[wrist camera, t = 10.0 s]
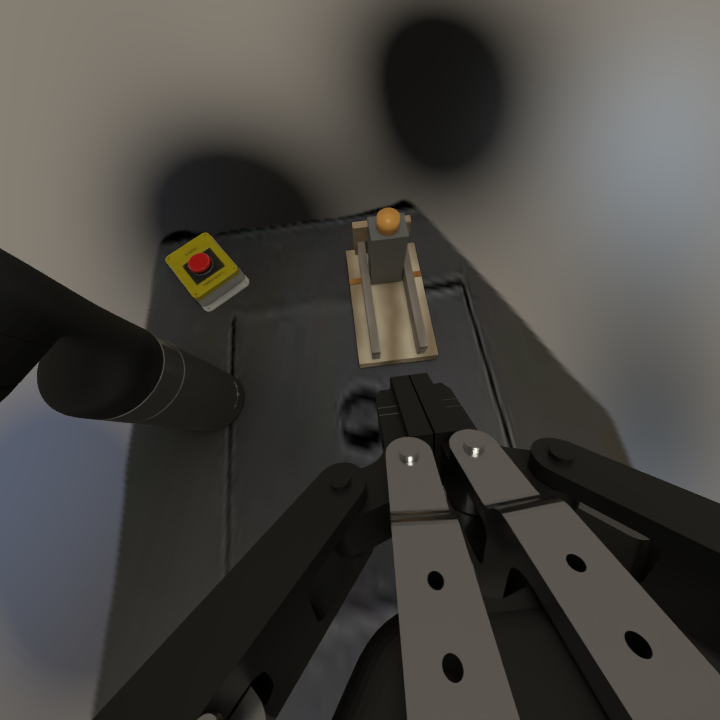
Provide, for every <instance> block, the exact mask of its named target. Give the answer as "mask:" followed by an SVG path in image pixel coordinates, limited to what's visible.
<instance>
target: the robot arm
mask: <svg viewBox="0 0 720 720" xmlns="http://www.w3.org/2000/svg"><path fill="white" fill-rule="evenodd" d="M38 362H39V365H38V370H37V383H38V388H39V391H40V394H41V396H42V397H43V399H44V401H45V402H46V403H47V404H48V405H49V406H50V407H51V408H52V409H54V410H56V411H58V412H60V413H62V414H65V415H68V416H72V417H77V418H85V419H95V420H104V421H114V422H124V423H134V424H143V425H153V426H162V427H171V428H181V429H189V430H199V431H209V432H210V431H217V430H220V429H223V428H224V427H226V426H228V425H229V424H230V423H232V422H233V421H234V420H235V418H236V417H237V416H238V414H239V413H240V411H241V409H242V406H243V401H244V392H243V388H242V386H241V384H240V382H239V381H238V380H237V379H236V378H235V377H234V376H232V375H230V374H228V373H226V372H225V371H223V370H221V369H219V368H217V367H215V366H213V365H212V364H210V363H208V362H206V361H204V360H202V359H200V358H198V357H196V356H195V355H193V354H191V353H189V352H187V351H185V350H183V349H181V348H179V347H177V346H176V345H174V344H172V343H170V342H168V341H166V340H164V339H162V338H160V337H158V336H156V335H154V334H153V333H151V332H149V331H147V330H145V329H143V328H141V327H139V326H137V325H135V324H133V323H131V322H129V321H127V320H125V319H123V318H121V317H119V316H117V315H114V314H113V313H111V312H109V311H107V310H105V309H103V308H101V307H99V306H97V305H95V304H94V303H92V302H90V301H88V300H87V299H85V298H84V297H82V296H80V295H78V294H77V293H75V292H73V291H72V290H70V289H68V288H67V287H65V286H63V285H62V284H60V283H58V282H56V281H55V280H53V279H52V278H50V277H48V276H47V275H45V274H43V273H42V272H40V271H38V270H36V269H35V268H33V267H31V266H30V265H28V264H26V263H25V262H23V261H21V260H20V259H18V258H16V257H14V256H12V255H11V254H9V253H7V252H5V251H4V250H2V249H0V402H1V401H2V400H3V399H5V397H7V396H8V395H9V394H10V393H11V392H12V391H13V389H14V388H15V387H16V386H17V385H18V383H20V382H21V381H22V380H23V378H24V377H25V376H26V375H27V374H28V373H29V372H30V371H31V370H32V368H33V367H34V366H35V365H36V364H37V363H38ZM390 388H391V389H389V390H381V391H379V393H378V395H377V398H376V404H377V413H378V423H379V431H380V436H381V442H382V448H383V454H382V456H381V457H380V458H379V459H378V460H377V461H376V462H374V463H373V464H371V465H369V466H367V467H364V468H362V469H360V468H359V467H358V466H356V465H354V464H351V463H337V464H334V465H331V466H329V467H328V468H326V469H325V470H324V471H323V472H322V473H321V474H320V475H319V476H318V477H317V478H316V479H315V480H314V481H313V482H312V483H311V485H310V486H309V487H308V488H307V489H306V490H305V491H304V492H303V493H302V494H301V495H300V496H299V497H298V499H297V500H296V501H295V502H294V503H293V504H292V505H291V506H290V507H289V508H288V509H287V510H286V511H285V513H284V514H283V515H282V516H281V517H280V518H279V519H278V520H277V521H276V522H275V523H274V524H273V526H272V527H271V528H270V529H269V530H268V531H267V532H266V533H265V534H264V535H263V536H262V537H261V538H260V540H259V541H258V542H257V543H256V544H255V545H254V546H253V547H252V548H251V549H250V550H249V551H248V552H247V554H246V555H245V556H244V557H243V558H242V559H241V560H240V561H239V562H238V563H237V564H236V565H235V566H234V568H233V569H232V570H231V571H230V572H229V573H228V574H227V575H226V576H225V577H224V578H223V579H222V580H221V582H220V583H219V584H218V585H217V586H216V587H215V588H214V589H213V590H212V591H211V592H210V593H209V594H208V596H207V597H206V598H205V599H204V600H203V601H202V602H201V603H200V604H199V605H198V606H197V607H196V608H195V610H194V611H193V612H192V613H191V614H190V615H189V616H188V617H187V618H186V619H185V620H184V621H183V622H182V624H181V625H180V626H179V627H178V628H177V629H176V630H175V631H174V632H173V633H172V634H171V635H170V636H169V638H168V639H167V640H166V641H165V642H164V643H163V644H162V645H161V646H160V647H159V648H158V649H157V650H156V652H155V653H154V654H153V655H152V656H151V657H150V658H149V659H148V660H147V661H146V662H145V663H144V665H143V666H142V667H141V668H140V669H139V670H138V671H137V672H136V673H135V674H134V675H133V676H132V677H131V679H130V680H129V681H128V682H127V683H126V684H125V685H124V686H123V687H122V688H121V689H120V690H119V691H118V693H117V694H116V695H115V696H114V697H113V698H112V699H111V700H110V701H109V702H108V703H107V704H106V705H105V707H104V708H103V709H102V710H101V711H100V712H99V713H98V714H97V715H96V716H95V717H94V718H93V719H92V720H276V718H277V716H278V714H279V712H280V711H281V709H282V707H283V705H284V704H285V702H286V700H287V699H288V697H289V695H290V693H291V692H292V690H293V688H294V686H295V685H296V683H297V681H298V680H299V678H300V676H301V674H302V673H303V671H304V669H305V668H306V666H307V664H308V662H309V661H310V659H311V657H312V655H313V654H314V652H315V650H316V649H317V647H318V645H319V643H320V642H321V640H322V638H323V636H324V635H325V633H326V631H327V630H328V628H329V626H330V624H331V623H332V621H333V619H334V617H335V616H336V614H337V612H338V611H339V609H340V607H341V605H342V604H343V602H344V600H345V599H346V597H347V595H348V593H349V592H350V590H351V588H352V586H353V585H354V583H355V581H356V580H357V578H358V576H359V574H360V573H361V571H362V569H363V567H364V566H365V564H366V562H367V561H368V559H369V557H370V555H371V554H372V551H373V549H374V547H375V546H377V545H379V544H380V543H382V542H384V541H386V540H388V539H390V538H392V541H393V553H394V565H395V577H396V589H397V601H398V614H396V615H395V616H393V617H392V618H391V619H389V620H388V621H387V622H385V623H384V624H383V625H382V626H381V627H380V628H379V629H378V630H377V631H376V633H375V634H374V635H373V637H372V638H371V639H370V640H369V642H368V643H367V645H366V647H365V648H364V650H363V652H362V653H361V655H360V657H359V659H358V661H357V663H356V665H355V668H354V670H353V672H352V675H351V677H350V679H349V681H348V684H347V686H346V688H345V690H344V693H343V695H342V697H341V700H340V702H339V704H338V706H337V709H336V711H335V713H334V715H333V718H332V720H720V504H719V503H717V502H714V501H712V500H709V499H707V498H705V497H702V496H700V495H697V494H695V493H693V492H690V491H688V490H685V489H683V488H680V487H678V486H675V485H673V484H670V483H668V482H666V481H663V480H661V479H658V478H656V477H653V476H650V475H648V474H646V473H643V472H641V471H638V470H636V469H634V468H631V467H629V466H626V465H624V464H621V463H619V462H616V461H614V460H611V459H609V458H607V457H604V456H602V455H599V454H597V453H594V452H592V451H589V450H587V449H584V448H582V447H580V446H577V445H575V444H572V443H570V442H567V441H564V440H561V439H556V438H542V439H539V440H536V441H535V442H534V443H533V444H532V446H531V450H524V449H516V448H508V447H503V446H499V444H498V443H497V442H496V441H495V440H494V439H493V438H492V437H491V436H489V435H488V434H486V433H484V432H481V431H478V430H477V429H476V427H475V426H474V424H473V422H472V421H471V419H470V418H469V416H468V415H467V413H466V412H465V410H464V409H463V407H462V406H461V405H460V403H459V401H458V399H456V396H455V395H454V393H453V392H452V390H451V389H450V388H448V387H447V386H445V385H444V384H442V383H437V384H433V383H432V381H431V379H430V377H429V376H428V374H427V373H420V374H412V375H405V376H397V377H390ZM442 485H444V488H445V490H446V493H447V501H446V497H445V494H444V490H443V487H442ZM580 502H581V503H583V504H585V505H587V506H589V507H591V508H593V509H595V510H597V511H599V512H601V513H602V514H604V515H606V516H608V517H610V518H612V519H614V520H616V521H618V522H620V523H622V524H623V525H625V526H627V527H629V528H631V529H633V530H635V531H637V532H639V533H641V534H643V535H644V536H646V537H648V538H649V539H650V540H639V539H636V538H633V537H631V536H629V535H627V534H625V533H623V532H622V531H620V530H618V529H616V528H614V527H612V526H610V525H609V524H607V523H605V522H603V521H601V520H599V519H598V518H596V517H594V516H592V515H590V514H588V513H586V512H585V511H583V510H581V509H579V508H578V507H579V505H580ZM470 559H471V560H470ZM471 561H472V563H473V566H474V568H475V571H476V574H477V577H478V582H479V586H478V583H477V579H476V576H475V573H474V570H473V566H472V563H471ZM479 587H480V589H479ZM481 595H482V596H481Z"/></svg>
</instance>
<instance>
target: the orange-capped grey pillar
mask: <svg viewBox="0 0 720 720" xmlns="http://www.w3.org/2000/svg"><path fill="white" fill-rule="evenodd" d="M367 223H368V266H369V273H370V280H371V285H373V284H381V283H390V282H398V281H401V279H402V273H403V267H404V262H405V256H406V250H407V245H408V239H409V234H408V229H407V225H406V220H405V215H404V213H399V212H398V211H397V210H395V209H393V208H384V209H382V210H380V211H379V212H378V214H377V216H374V217H367Z"/></svg>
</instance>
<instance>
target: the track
mask: <svg viewBox="0 0 720 720" xmlns="http://www.w3.org/2000/svg"><path fill="white" fill-rule="evenodd" d="M405 220H406V225H407V229H408V234H409V231H410V225H411V218H410V215H408V216H405ZM352 228H353V239H354V250H350V251H346V255H347V264H348V272H349V281H350V289H351V297H352V306H353V314H354V322H355V331H356V339H357V348H358V356H359V364H360V368H364V367H373V366H381V365H389V364H397V363H406V362H414V361H422V360H430V359H436V357H437V356H438V351H437V347H436V342H435V338H434V333H433V328H432V324H431V319H430V315H429V310H428V305H427V301H426V296H425V292H424V287H423V282H422V278H421V272H420V269H419V264H418V259H417V255H416V250H415V246H414V243H408V245H407V250H406V256H405V262H404V267H403V273H402V279H401V281H398V282H390V283H381V284H373V285H371V280H370V273H369V266H368V223H367V221H360V222H352Z"/></svg>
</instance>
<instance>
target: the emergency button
mask: <svg viewBox="0 0 720 720" xmlns="http://www.w3.org/2000/svg"><path fill="white" fill-rule="evenodd" d="M165 260H166V262H167V263H168V265H169V266H170V267H171V269H172V270H173V271H174V273H175V274H176V275H177V277H178V278H179V279H180V281H181V282H182V283H183V284H184V286H185V287H186V288H187V290H188V291H189V292H190V294H191V295H192V296H193V297H194V299H196V300H197V301H198V302H199V303H200V305H201V306H202V307H203V309H204V310H205V311H207V312H211V311H213V310H214V309H216V308H217V307H219V306H220V305H222V304H223V303H224V302H226V301H227V300H229V299H230V298H231V297H233V296H234V295H236V294H237V293H239V292H240V291H241V290H243V289H244V288H246V287H247V286H248V285H249V279H248V278H247V277H246V276H245V275H244V274H243V272H242V271H241V270H240V269H239V268H238V267H237V265H236V264H235V263H234V262H233V261H232V260H231V258H230V257H229V256H228V255H227V254H226V253H225V252H224V250H223V249H222V248H221V247H220V246H219V245H218V243H217V242H216V241H215V240H214V239H213V238H212V237H211V236H210V235H209V234H208V233H203V234H201V235H199V236H198V237H196V238H195V239H193V240H191V241H190V242H188V243H187V244H185V245H184V246H182V247H181V248H179V249H178V250H176V251H174V252H173V253H171V254H170V255H168V256H167V257H166V259H165Z"/></svg>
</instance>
